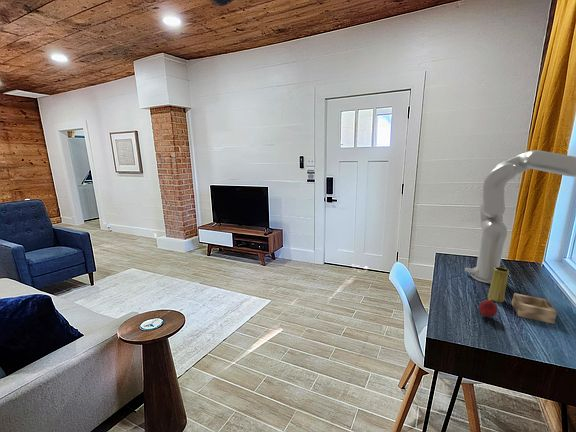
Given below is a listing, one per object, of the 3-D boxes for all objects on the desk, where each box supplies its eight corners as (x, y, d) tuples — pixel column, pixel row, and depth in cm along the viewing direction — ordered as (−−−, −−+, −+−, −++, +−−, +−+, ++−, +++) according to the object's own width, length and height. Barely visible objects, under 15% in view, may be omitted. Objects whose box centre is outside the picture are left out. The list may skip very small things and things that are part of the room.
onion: (496, 323, 106) (499, 304, 104) (478, 318, 109) (481, 299, 107) (494, 315, 111) (498, 297, 109) (477, 311, 114) (480, 293, 112)
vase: (502, 297, 126) (508, 268, 123) (505, 303, 120) (512, 273, 117) (486, 294, 128) (491, 265, 125) (489, 300, 123) (494, 270, 120)
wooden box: (518, 315, 111) (520, 303, 110) (511, 303, 121) (514, 292, 119) (554, 323, 106) (557, 311, 105) (544, 310, 116) (547, 298, 114)
